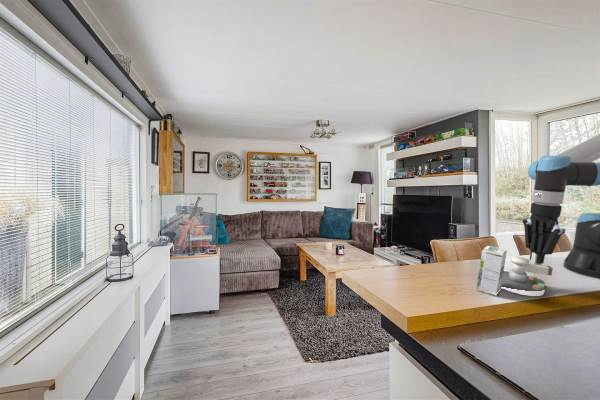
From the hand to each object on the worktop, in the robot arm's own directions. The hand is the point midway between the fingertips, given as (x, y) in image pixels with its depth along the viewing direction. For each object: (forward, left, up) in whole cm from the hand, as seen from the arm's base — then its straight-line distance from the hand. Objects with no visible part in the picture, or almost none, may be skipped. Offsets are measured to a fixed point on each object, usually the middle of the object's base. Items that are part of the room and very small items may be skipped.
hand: (534, 271), depth 96 cm
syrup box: (+18, +2, -6) cm, 19 cm away
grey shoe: (+6, 0, -5) cm, 8 cm away
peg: (+3, +1, 0) cm, 3 cm away
